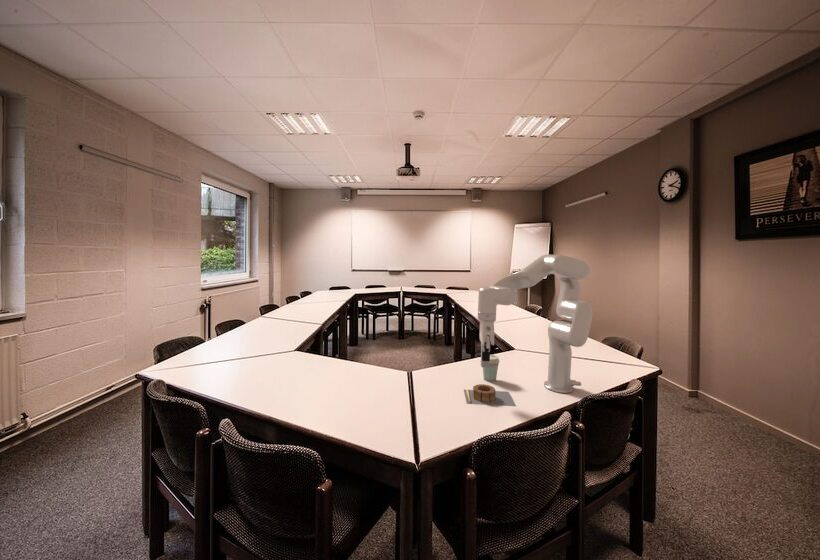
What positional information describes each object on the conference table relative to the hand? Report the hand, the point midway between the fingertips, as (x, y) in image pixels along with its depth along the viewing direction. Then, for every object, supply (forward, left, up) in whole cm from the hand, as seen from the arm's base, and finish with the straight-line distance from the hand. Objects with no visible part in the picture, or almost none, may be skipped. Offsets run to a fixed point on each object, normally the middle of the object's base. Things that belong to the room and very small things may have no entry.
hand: (485, 359), depth 136 cm
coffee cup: (-6, -21, -18) cm, 28 cm away
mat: (-2, -1, -18) cm, 18 cm away
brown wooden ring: (0, 0, -17) cm, 17 cm away
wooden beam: (0, 0, -3) cm, 3 cm away
